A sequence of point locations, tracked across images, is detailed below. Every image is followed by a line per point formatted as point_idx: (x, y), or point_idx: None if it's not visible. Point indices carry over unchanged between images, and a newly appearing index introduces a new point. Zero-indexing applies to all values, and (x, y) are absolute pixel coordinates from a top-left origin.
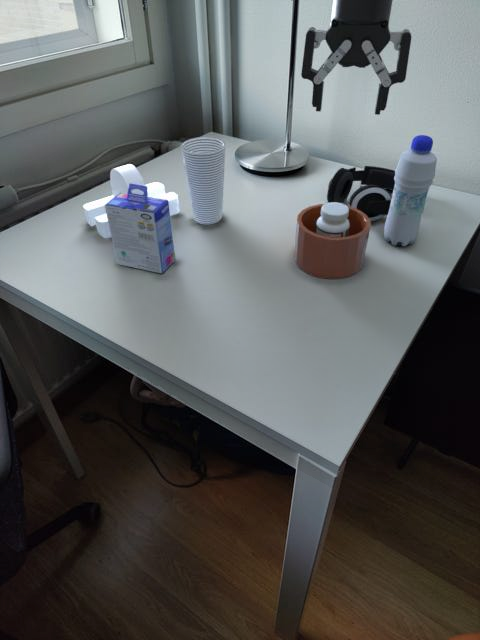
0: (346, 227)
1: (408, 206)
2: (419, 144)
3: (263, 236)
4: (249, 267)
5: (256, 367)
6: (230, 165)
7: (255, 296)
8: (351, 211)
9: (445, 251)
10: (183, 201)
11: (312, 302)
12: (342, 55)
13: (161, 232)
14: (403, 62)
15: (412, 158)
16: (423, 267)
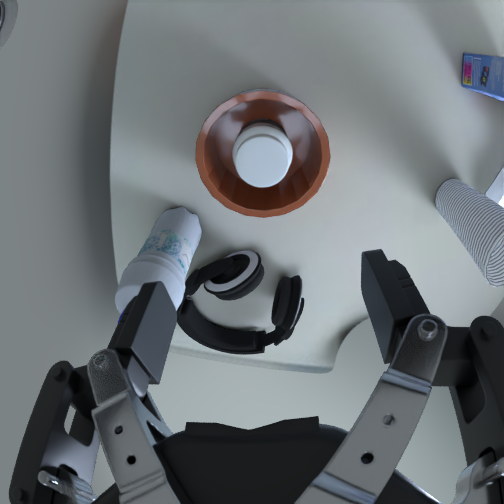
0: (234, 145)
1: (156, 238)
2: None
3: (372, 169)
4: (370, 84)
5: None
6: None
7: (337, 22)
8: (242, 204)
9: (124, 219)
10: None
11: (255, 31)
12: (331, 471)
13: (498, 65)
14: (39, 419)
15: None
16: (135, 172)
